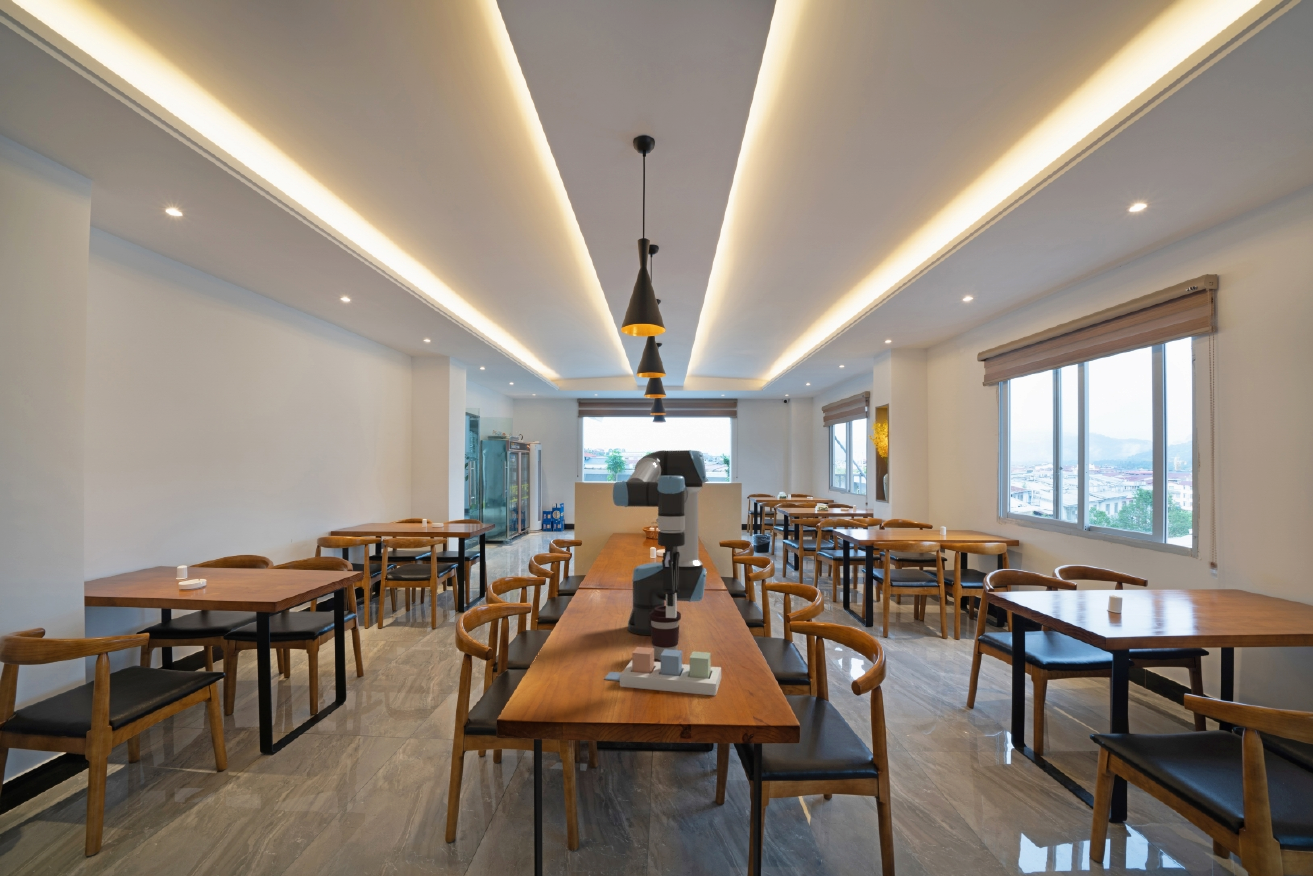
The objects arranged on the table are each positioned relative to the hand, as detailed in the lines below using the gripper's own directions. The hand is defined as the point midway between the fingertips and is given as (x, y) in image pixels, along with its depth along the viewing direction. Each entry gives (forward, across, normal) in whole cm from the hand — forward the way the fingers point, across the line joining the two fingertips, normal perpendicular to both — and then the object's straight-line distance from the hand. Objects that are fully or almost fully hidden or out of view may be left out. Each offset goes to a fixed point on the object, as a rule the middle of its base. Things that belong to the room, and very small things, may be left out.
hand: (671, 617), depth 155 cm
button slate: (+15, 0, 0) cm, 15 cm away
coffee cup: (+18, -20, -6) cm, 27 cm away
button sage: (+15, 0, +8) cm, 17 cm away
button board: (+18, 0, 0) cm, 18 cm away
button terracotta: (+15, 0, -8) cm, 17 cm away
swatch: (+18, 0, -16) cm, 24 cm away
